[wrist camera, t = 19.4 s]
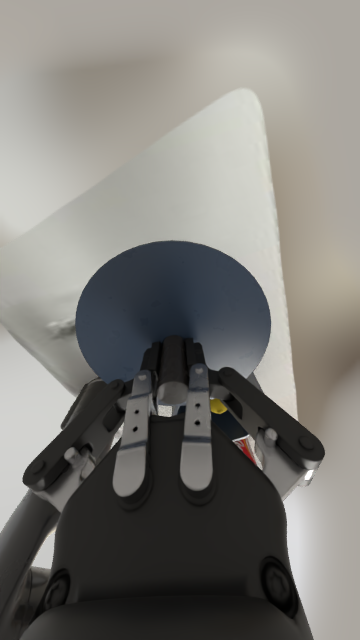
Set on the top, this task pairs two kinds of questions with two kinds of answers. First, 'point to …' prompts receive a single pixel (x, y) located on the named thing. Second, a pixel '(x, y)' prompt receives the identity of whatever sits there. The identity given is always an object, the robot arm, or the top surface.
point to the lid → (172, 314)
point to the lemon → (217, 406)
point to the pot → (226, 417)
